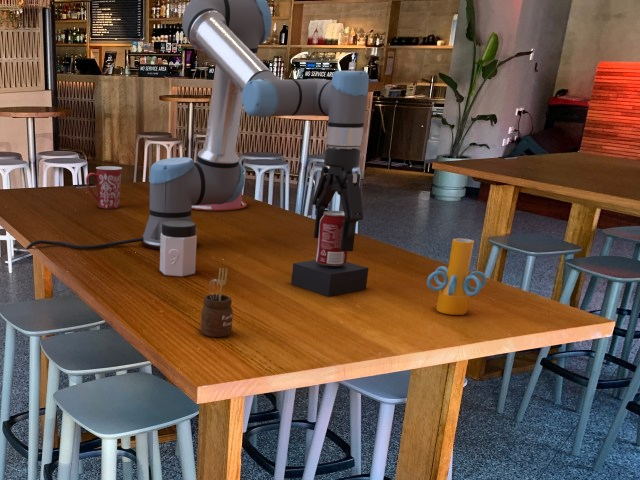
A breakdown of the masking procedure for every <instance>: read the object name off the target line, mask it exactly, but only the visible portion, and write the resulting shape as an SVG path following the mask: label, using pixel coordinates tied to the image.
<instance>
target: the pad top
mask: <svg viewBox="0 0 640 480" xmlns="http://www.w3.org/2000/svg"><path fill="white" fill-rule="evenodd" d="M291 271H292V272H291V275H292V274H295V275H298V276H301V277H305V278H308V279H311V280H314V281H317V282H320V283H324V284H327V285H335V284H340V283H345V282H351V281H356V280H361V279H367V280H368V276H369V267H368V266H363V265H360V264H357V263H353V262H349V261H346V264H345V265H343V266H342V267H339V268H327V267H322V266H320V265H319V264H318V263H316V259H310V260H306V261H297V262H293V263H292V270H291Z"/></svg>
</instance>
